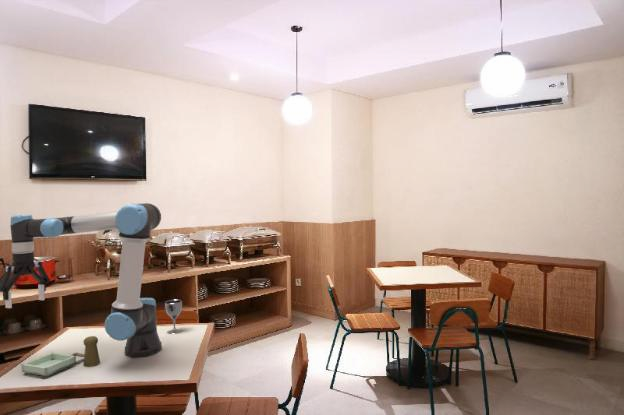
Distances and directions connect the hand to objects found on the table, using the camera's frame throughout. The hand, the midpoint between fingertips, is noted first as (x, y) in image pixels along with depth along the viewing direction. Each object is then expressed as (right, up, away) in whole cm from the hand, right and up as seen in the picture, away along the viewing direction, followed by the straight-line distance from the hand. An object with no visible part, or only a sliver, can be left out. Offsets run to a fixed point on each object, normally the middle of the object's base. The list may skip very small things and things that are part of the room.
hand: (25, 303), depth 180 cm
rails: (+16, -24, -3) cm, 29 cm away
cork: (+29, -24, -3) cm, 37 cm away
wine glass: (+49, -22, +37) cm, 66 cm away
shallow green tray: (+15, -24, -8) cm, 29 cm away
